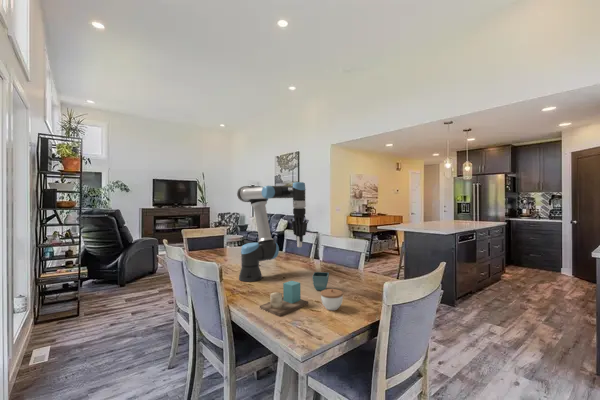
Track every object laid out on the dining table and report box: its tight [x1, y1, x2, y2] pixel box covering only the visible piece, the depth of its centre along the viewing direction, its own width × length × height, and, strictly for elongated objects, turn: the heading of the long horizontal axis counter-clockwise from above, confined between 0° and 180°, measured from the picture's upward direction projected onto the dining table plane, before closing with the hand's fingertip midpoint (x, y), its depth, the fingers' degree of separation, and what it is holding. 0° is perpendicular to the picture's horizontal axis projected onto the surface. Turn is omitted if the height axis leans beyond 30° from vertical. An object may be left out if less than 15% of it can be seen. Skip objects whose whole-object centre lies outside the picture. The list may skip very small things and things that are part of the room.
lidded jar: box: [320, 288, 344, 311], centre depth 143 cm, size 11×11×9 cm
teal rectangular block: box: [282, 280, 302, 304], centre depth 150 cm, size 6×6×9 cm
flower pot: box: [311, 271, 330, 291], centre depth 172 cm, size 9×9×9 cm
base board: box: [259, 296, 309, 317], centre depth 146 cm, size 14×20×2 cm
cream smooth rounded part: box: [269, 292, 283, 309], centre depth 141 cm, size 6×6×8 cm
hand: (299, 246), depth 176 cm, fingers closed
